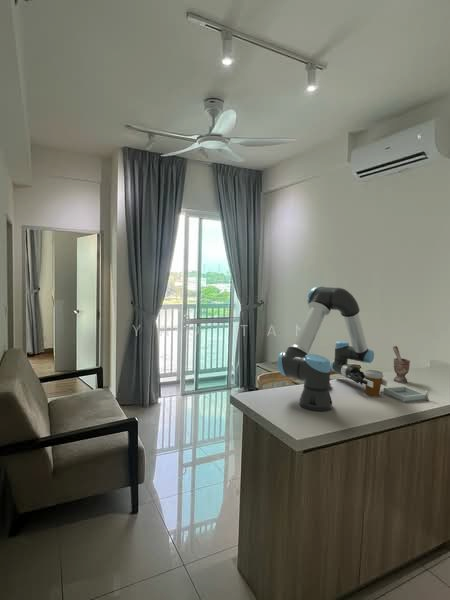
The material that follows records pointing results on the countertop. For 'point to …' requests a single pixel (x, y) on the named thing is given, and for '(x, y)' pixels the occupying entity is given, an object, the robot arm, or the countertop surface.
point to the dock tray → (405, 394)
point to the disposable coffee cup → (376, 379)
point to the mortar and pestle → (400, 367)
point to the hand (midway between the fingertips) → (379, 384)
